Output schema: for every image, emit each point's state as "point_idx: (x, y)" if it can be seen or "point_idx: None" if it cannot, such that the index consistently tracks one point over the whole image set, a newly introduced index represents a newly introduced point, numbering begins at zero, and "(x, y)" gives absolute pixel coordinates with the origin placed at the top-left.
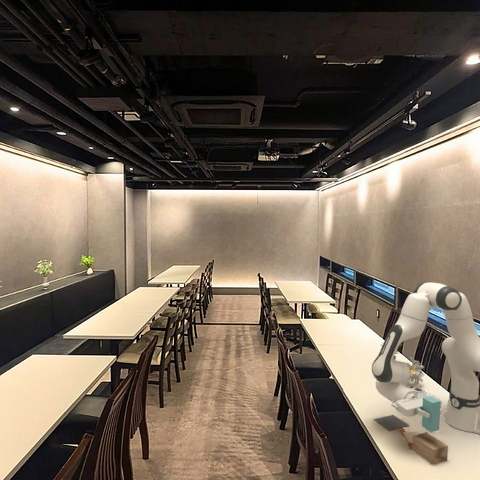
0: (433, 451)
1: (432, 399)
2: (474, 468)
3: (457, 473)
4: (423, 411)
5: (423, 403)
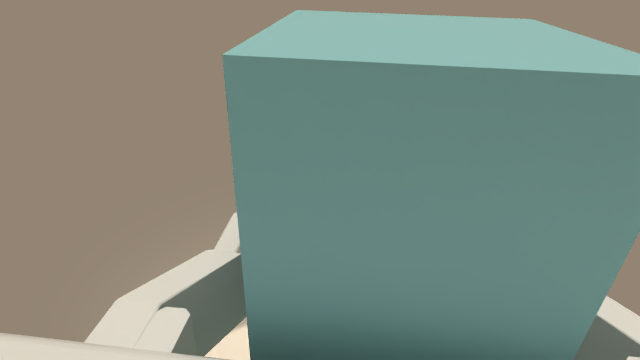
0: None
1: (405, 28)
2: (225, 337)
3: None
4: (606, 299)
5: (602, 243)
